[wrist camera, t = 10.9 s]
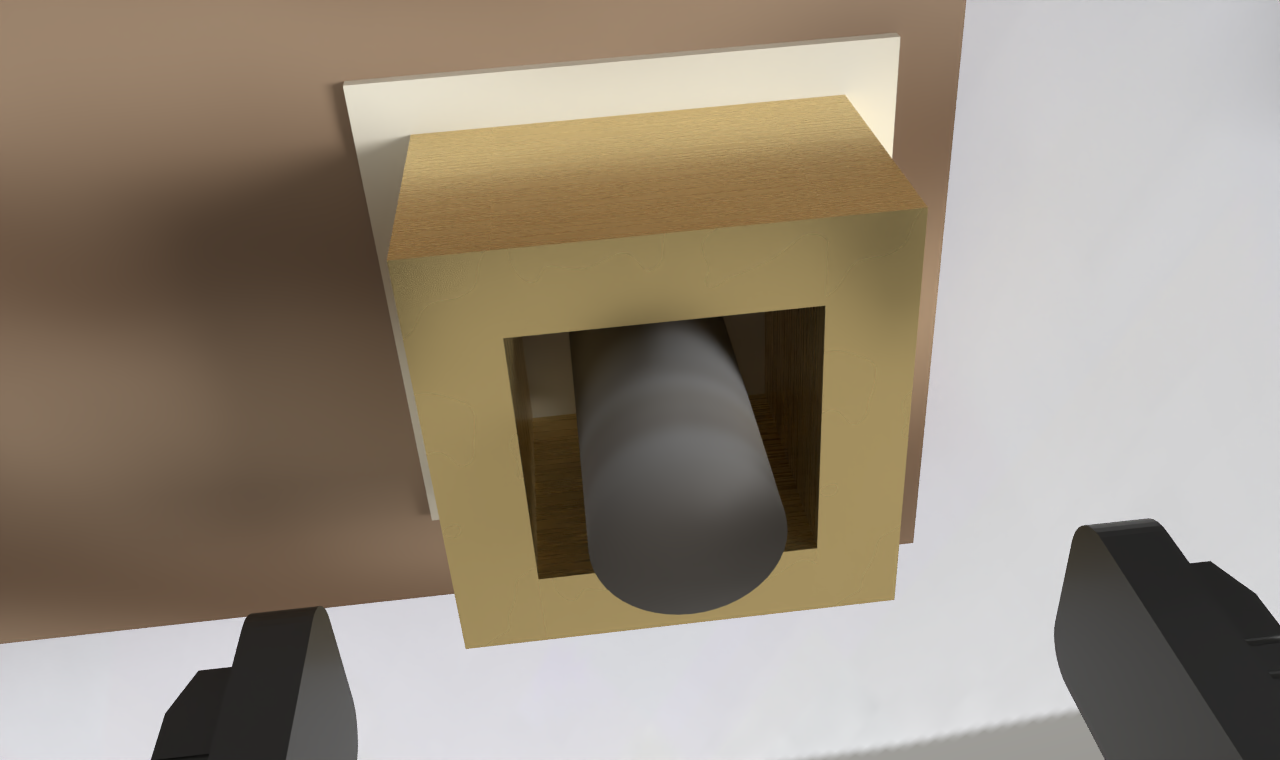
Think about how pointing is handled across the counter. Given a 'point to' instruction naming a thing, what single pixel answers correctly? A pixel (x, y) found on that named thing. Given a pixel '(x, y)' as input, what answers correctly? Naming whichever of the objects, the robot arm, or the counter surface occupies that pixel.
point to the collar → (651, 293)
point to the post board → (368, 292)
